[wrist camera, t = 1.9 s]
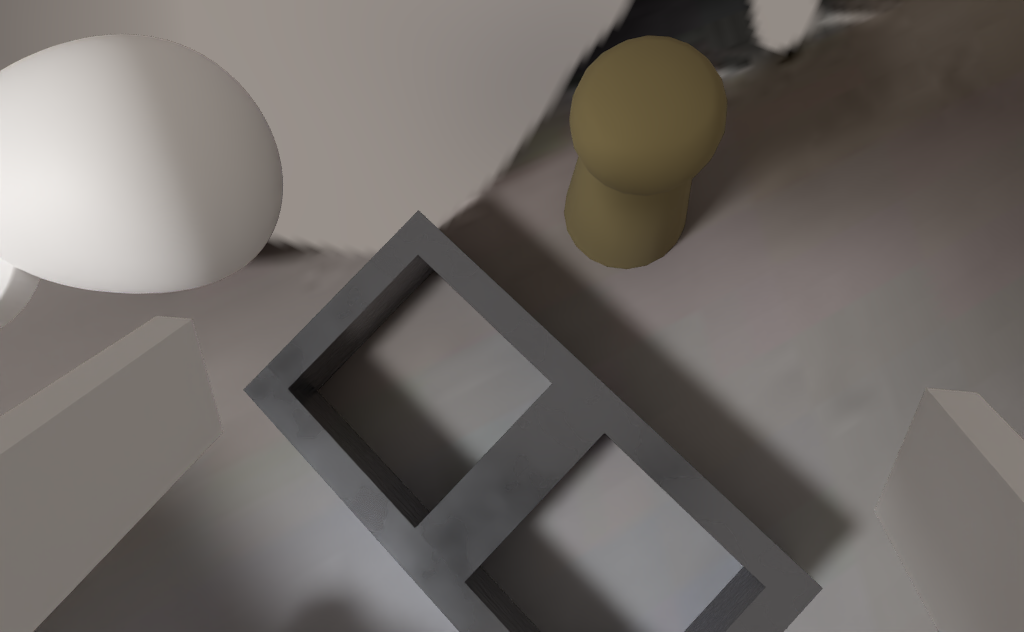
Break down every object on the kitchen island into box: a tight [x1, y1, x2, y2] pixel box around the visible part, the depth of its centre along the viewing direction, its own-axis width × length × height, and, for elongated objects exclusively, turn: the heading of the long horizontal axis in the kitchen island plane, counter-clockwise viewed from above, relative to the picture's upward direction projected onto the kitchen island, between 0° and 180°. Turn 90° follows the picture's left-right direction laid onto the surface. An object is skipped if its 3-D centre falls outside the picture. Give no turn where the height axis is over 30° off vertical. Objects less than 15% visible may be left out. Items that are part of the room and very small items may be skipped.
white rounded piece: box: [0, 34, 283, 328], centre depth 26 cm, size 12×12×15 cm
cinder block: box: [244, 211, 823, 632], centre depth 26 cm, size 23×12×3 cm, turn 46°
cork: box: [564, 36, 727, 269], centre depth 23 cm, size 6×6×11 cm
